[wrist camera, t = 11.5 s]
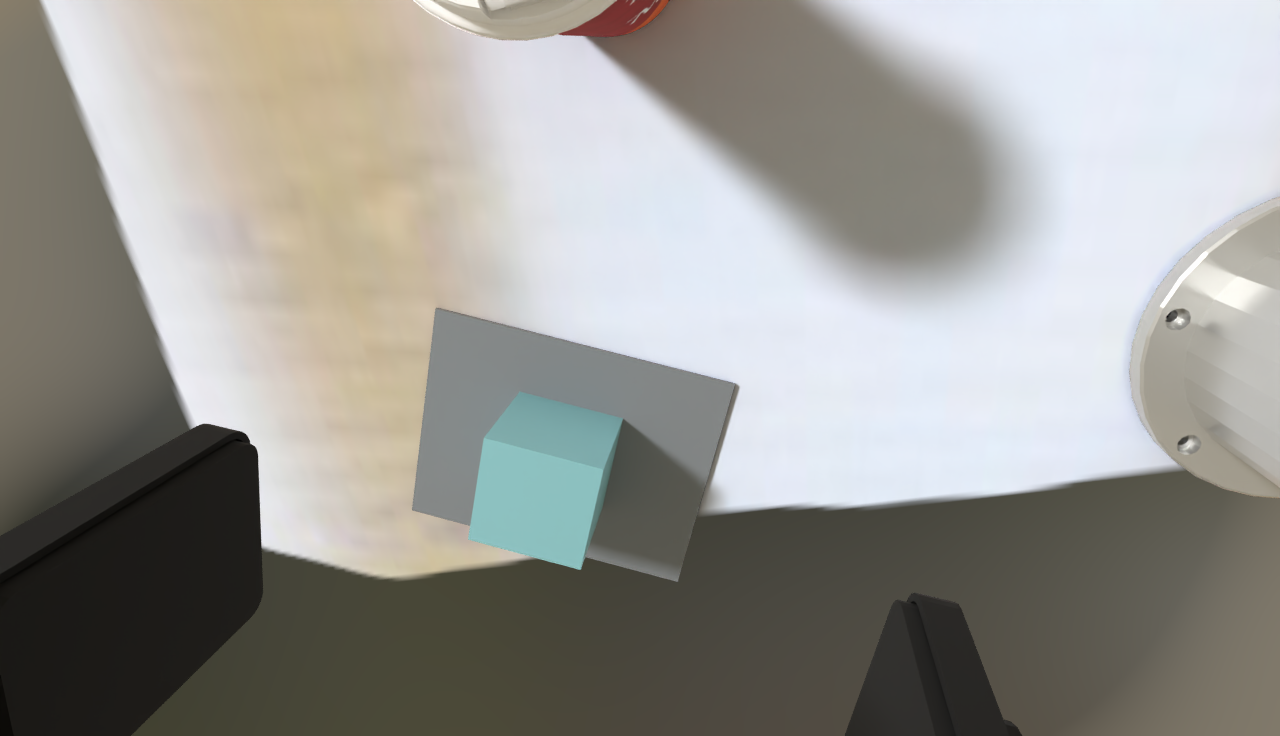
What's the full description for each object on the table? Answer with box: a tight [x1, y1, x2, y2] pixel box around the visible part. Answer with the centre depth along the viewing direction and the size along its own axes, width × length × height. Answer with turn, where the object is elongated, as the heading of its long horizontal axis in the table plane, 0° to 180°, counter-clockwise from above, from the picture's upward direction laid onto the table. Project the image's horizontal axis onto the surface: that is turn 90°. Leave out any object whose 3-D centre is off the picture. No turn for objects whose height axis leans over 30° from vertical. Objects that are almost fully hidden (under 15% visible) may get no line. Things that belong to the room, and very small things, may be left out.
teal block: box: [468, 392, 623, 570], centre depth 32 cm, size 5×5×5 cm
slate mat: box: [412, 308, 735, 582], centre depth 35 cm, size 14×11×1 cm
